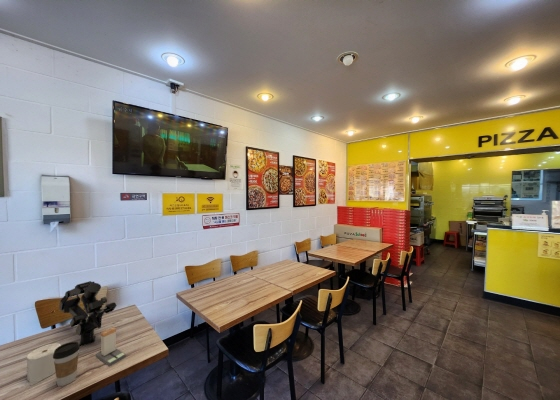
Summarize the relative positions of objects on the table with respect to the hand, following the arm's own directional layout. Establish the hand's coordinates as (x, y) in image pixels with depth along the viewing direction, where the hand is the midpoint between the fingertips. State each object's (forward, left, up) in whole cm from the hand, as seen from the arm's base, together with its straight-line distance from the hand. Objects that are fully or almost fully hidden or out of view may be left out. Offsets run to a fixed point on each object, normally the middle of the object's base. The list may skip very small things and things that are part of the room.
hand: (99, 327), depth 115 cm
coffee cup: (+17, -10, -12) cm, 23 cm away
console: (+10, +5, -12) cm, 16 cm away
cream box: (+8, +4, -10) cm, 13 cm away
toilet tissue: (+5, -19, -12) cm, 23 cm away
